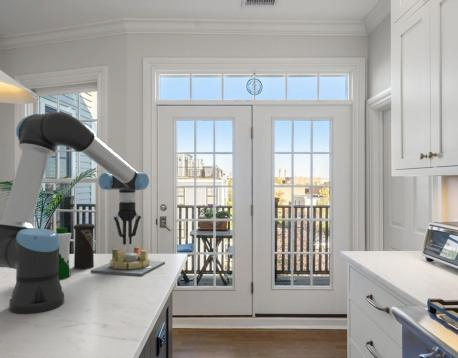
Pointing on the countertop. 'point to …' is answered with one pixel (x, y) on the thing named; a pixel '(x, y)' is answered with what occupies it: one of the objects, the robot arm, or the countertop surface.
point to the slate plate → (134, 272)
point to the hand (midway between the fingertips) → (127, 251)
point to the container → (84, 246)
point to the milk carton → (63, 252)
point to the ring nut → (120, 262)
